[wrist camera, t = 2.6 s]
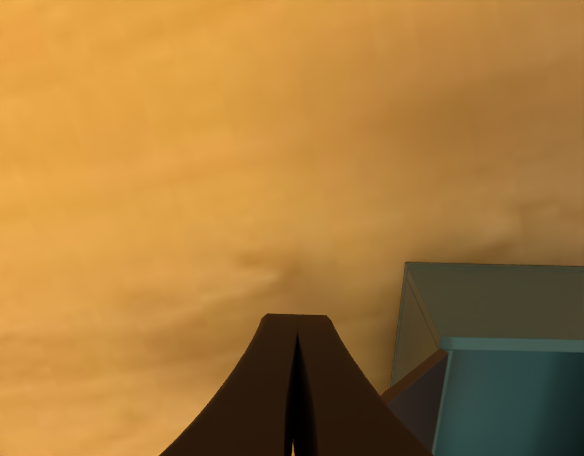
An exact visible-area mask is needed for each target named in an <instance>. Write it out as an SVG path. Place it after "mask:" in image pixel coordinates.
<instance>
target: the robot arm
mask: <svg viewBox="0 0 584 456" xmlns="http://www.w3.org/2000/svg"><path fill="white" fill-rule="evenodd" d="M293 444H294V455H295V456H434V455H433V454H432V453H431V452H430V451H429V450H428V449H427V448H426V447H425V446H424V445H423V444H422V443H421V442H420V441H419V440H418V439H417V438H416V437H415V436H414V435H413V433H412V432H411V431H410V430H409V429H408V428H407V427H406V426H405V425H404V424H403V423H402V422H401V420H400V419H399V418H398V417H397V416H396V415H395V414H394V412H393V411H392V410H391V409H390V408H389V406H388V405H387V404H386V403H385V401H384V400H383V399H382V398H381V397H380V395H379V394H378V393H377V392H376V390H375V389H374V388H373V386H372V385H371V384H370V382H369V381H368V380H367V378H366V377H365V375H364V374H363V372H362V371H361V370H360V368H359V367H358V365H357V364H356V363H355V361H354V360H353V358H352V357H351V355H350V353H349V352H348V350H347V349H346V347H345V345H344V344H343V342H342V340H341V339H340V337H339V335H338V333H337V332H336V330H335V328H334V326H333V324H332V321H331V320H330V319H329V318H328V317H327V316H326V315H298V314H266V315H265V316H264V317H263V318H262V319H261V322H260V325H259V327H258V329H257V331H256V333H255V335H254V337H253V339H252V341H251V343H250V344H249V346H248V348H247V350H246V351H245V353H244V354H243V356H242V357H241V359H240V360H239V362H238V364H237V365H236V367H235V368H234V370H233V371H232V373H231V374H230V376H229V377H228V378H227V380H226V381H225V382H224V384H223V385H222V386H221V387H220V389H219V390H218V391H217V393H216V394H215V395H214V397H213V398H212V399H211V401H210V402H209V403H208V404H207V406H206V407H205V408H204V409H203V410H202V411H201V413H200V414H199V415H198V416H197V417H196V418H195V419H194V421H193V422H192V423H191V424H190V425H189V426H188V427H187V428H186V429H185V430H184V431H183V432H182V433H181V435H180V436H179V437H178V438H177V439H176V440H175V441H174V442H173V443H172V444H171V445H170V446H169V447H168V448H167V449H165V450H164V451H163V452H162V453H161V454H160V455H159V456H291V454H292V445H293Z"/></svg>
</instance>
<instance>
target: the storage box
mask: <svg viewBox="0 0 584 456" xmlns="http://www.w3.org/2000/svg"><path fill="white" fill-rule="evenodd" d="M438 349H442V350H444V351H446V352H448V353H449V355H448V361H447V367H446V373H445V379H444V384H443V390H442V396H441V402H440V407H439V413H438V419H437V425H436V431H435V436H434V442H433V448H432V454H433V455H434V456H584V266H542V265H500V264H457V263H415V262H406V263H405V271H404V279H403V287H402V295H401V303H400V311H399V319H398V327H397V336H396V344H395V352H394V360H393V368H392V376H391V384H390V387H392V386H393V385H394V384H395V383H397V382H398V381H399V380H400V379H402V378H403V377H404V376H405V375H407V374H408V373H409V372H410V371H412V370H413V369H414V368H415V367H417V366H418V365H419V364H420V363H422V362H423V361H424V360H426V359H427V358H428V357H429V356H431V355H432V354H433V353H434V352H436V351H437V350H438Z"/></svg>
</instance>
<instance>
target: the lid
mask: <svg viewBox="0 0 584 456" xmlns="http://www.w3.org/2000/svg"><path fill="white" fill-rule="evenodd" d="M448 355H449V353H448V352H446V351H444V350H442V349H438V350H437V351H436V352H434V353H433V354H432V355H431V356H429V357H428V358H427V359H426V360H424V361H423V362H422V363H420V364H419V365H418V366H417V367H415V368H414V369H413V370H412V371H410V372H409V373H408V374H407V375H405V376H404V377H403V378H402V379H400V380H399V381H398V382H397V383H395V384H394V385H393V386H392V387H390V388H389V389H388V390H387V391H385V392H384V393H383V394H382V395H380V397H381V398H382V399H383V400H384V401H385V403H386V404H387V405H388V406H389V408H390V409H391V410H392V411H393V412H394V414H395V415H396V416H397V417H398V418H399V419H400V420H401V422H402V423H403V424H404V425H405V426H406V427H407V428H408V429H409V430H410V431H411V432H412V433H413V435H414V436H415V437H416V438H417V439H418V440H419V441H420V442H421V443H422V444H423V445H424V446H425V447H426V448H427V449H428V450H429V451H430V452H431V453H432V448H433V442H434V436H435V431H436V425H437V419H438V413H439V407H440V402H441V396H442V390H443V384H444V379H445V373H446V367H447V361H448Z"/></svg>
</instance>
